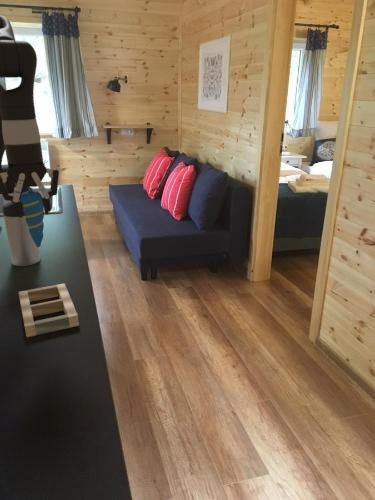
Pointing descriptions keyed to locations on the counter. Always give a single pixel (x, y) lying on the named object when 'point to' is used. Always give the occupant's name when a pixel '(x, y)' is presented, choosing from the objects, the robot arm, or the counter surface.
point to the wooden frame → (47, 310)
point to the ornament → (33, 213)
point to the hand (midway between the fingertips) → (33, 215)
